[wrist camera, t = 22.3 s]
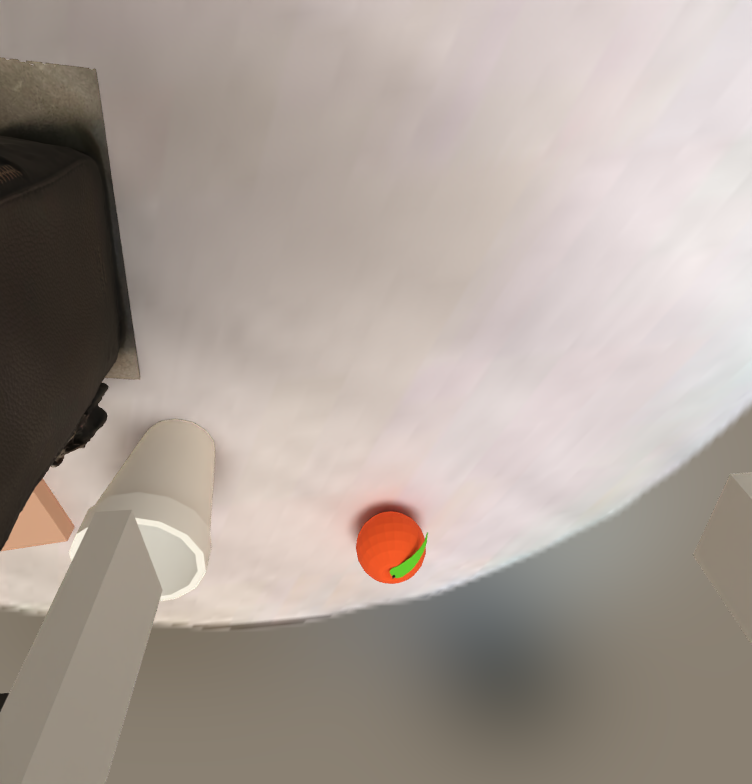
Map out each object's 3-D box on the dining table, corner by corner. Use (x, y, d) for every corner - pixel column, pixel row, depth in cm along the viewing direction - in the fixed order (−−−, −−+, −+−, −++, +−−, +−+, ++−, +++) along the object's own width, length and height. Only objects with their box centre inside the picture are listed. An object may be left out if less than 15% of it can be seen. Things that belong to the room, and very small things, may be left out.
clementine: (399, 480, 55) (406, 536, 49) (442, 515, 58) (454, 571, 52) (341, 521, 58) (341, 578, 52) (385, 551, 61) (390, 609, 55)
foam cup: (240, 418, 50) (215, 530, 39) (224, 491, 55) (197, 609, 44) (129, 395, 48) (69, 507, 37) (122, 473, 52) (67, 592, 42)
